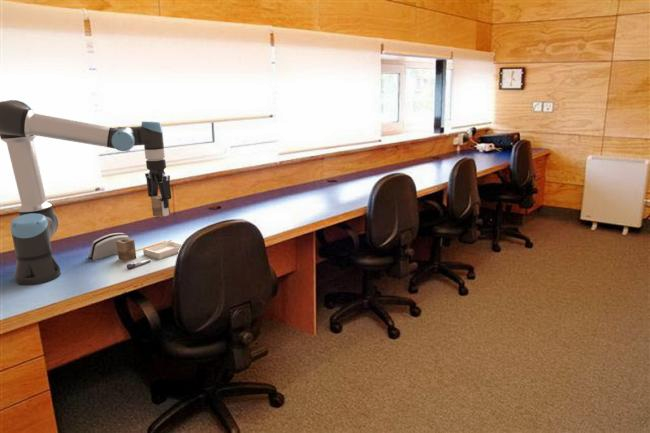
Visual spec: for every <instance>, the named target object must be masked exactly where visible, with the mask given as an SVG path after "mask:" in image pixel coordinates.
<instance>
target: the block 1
mask: <svg viewBox="0 0 650 433" xmlns="http://www.w3.org/2000/svg"><path fill="white" fill-rule="evenodd" d="M116 244H117V251H118V253H117V257H118V260H119V261H122V262H124V263H126V262H129V261H133V260H136V259H137V251H135V250H136V244H135V239H132V238H130V237H129V238H125V239H122V240H118V241H116Z"/></svg>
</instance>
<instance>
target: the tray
mask: <svg viewBox="0 0 650 433" xmlns="http://www.w3.org/2000/svg"><path fill="white" fill-rule="evenodd" d="M163 242H164V241H163ZM160 243H161V242H160ZM156 244H157V245H154V244H153V245H154V246H151V245H150V246H151V247H148V246H147V247H148V248H144V247H143V248H144V249H142V251H143V255H145V256H147V257H150V258H154V259H157V260H163V259H166V258H168V257H171V256H174V255H177V253H178V250H179V248H180V247H181V245H182V244H183V243H182V242H178V241H175V240H168V241H167V240H166V242H164V243H161V244H158V243H156ZM178 254H179V253H178Z"/></svg>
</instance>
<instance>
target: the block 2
mask: <svg viewBox="0 0 650 433" xmlns="http://www.w3.org/2000/svg"><path fill="white" fill-rule="evenodd" d="M164 198H165V197H164ZM161 200H162V197H161V194H158V196H153V197H150V201H151V210H152V211H151V212H152V216H153V217H157V218H163V217H164V218H165V216H163V215H162V206H161ZM168 205H169V208H168V209H169V215H168V216H170V215H171V208H170V199H169V200H168Z"/></svg>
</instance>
